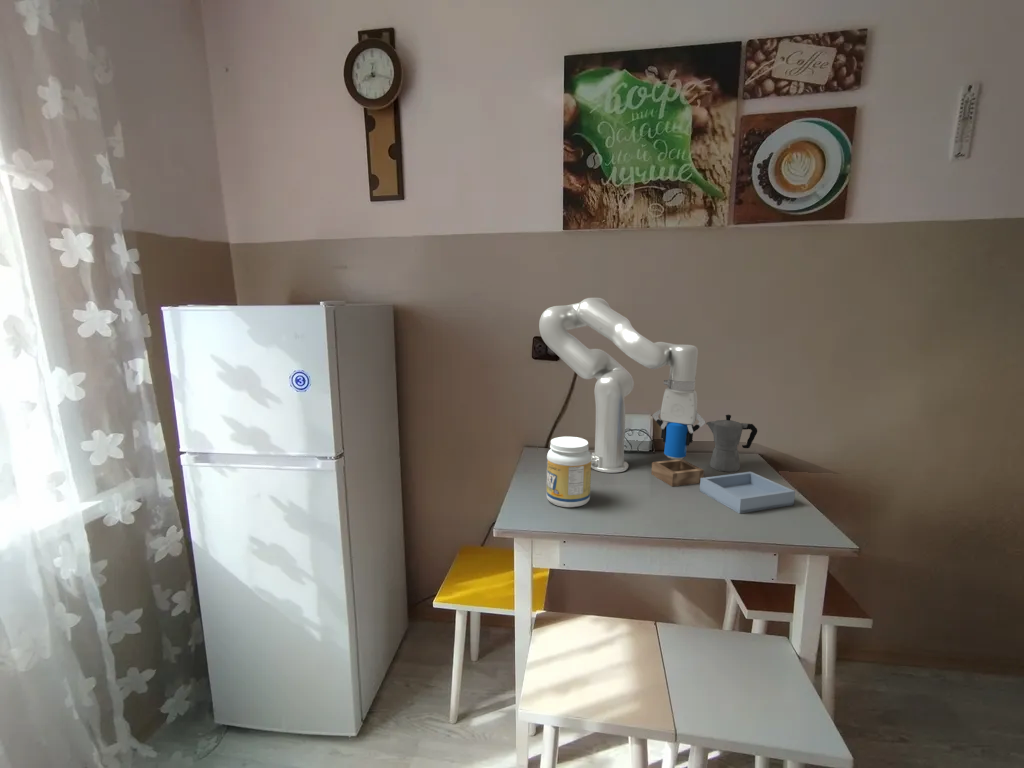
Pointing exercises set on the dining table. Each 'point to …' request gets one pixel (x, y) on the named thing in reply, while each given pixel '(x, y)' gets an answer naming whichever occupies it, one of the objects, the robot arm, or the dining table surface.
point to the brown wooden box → (677, 472)
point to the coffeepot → (728, 443)
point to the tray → (747, 492)
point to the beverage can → (676, 440)
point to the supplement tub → (568, 472)
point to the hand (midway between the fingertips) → (676, 442)
